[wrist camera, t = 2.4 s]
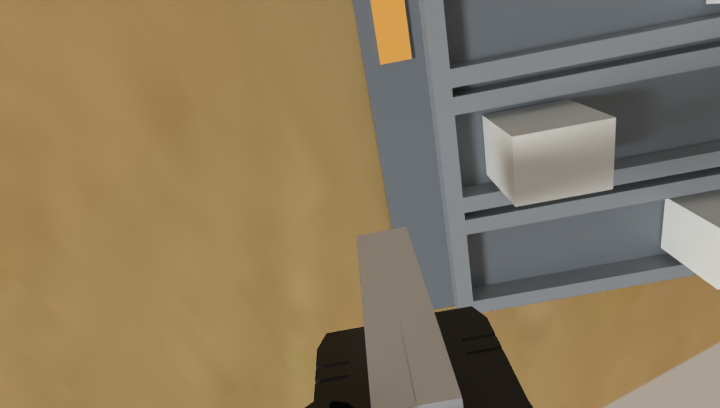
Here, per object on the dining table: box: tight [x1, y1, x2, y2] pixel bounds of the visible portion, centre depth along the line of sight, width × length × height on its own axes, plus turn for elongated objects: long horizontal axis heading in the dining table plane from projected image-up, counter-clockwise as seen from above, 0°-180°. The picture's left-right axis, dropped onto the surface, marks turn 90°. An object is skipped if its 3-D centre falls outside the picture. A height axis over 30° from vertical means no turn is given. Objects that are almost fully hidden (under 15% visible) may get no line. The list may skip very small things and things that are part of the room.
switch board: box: [352, 0, 720, 313], centre depth 22 cm, size 18×24×3 cm
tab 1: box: [482, 99, 616, 207], centre depth 20 cm, size 3×4×4 cm
